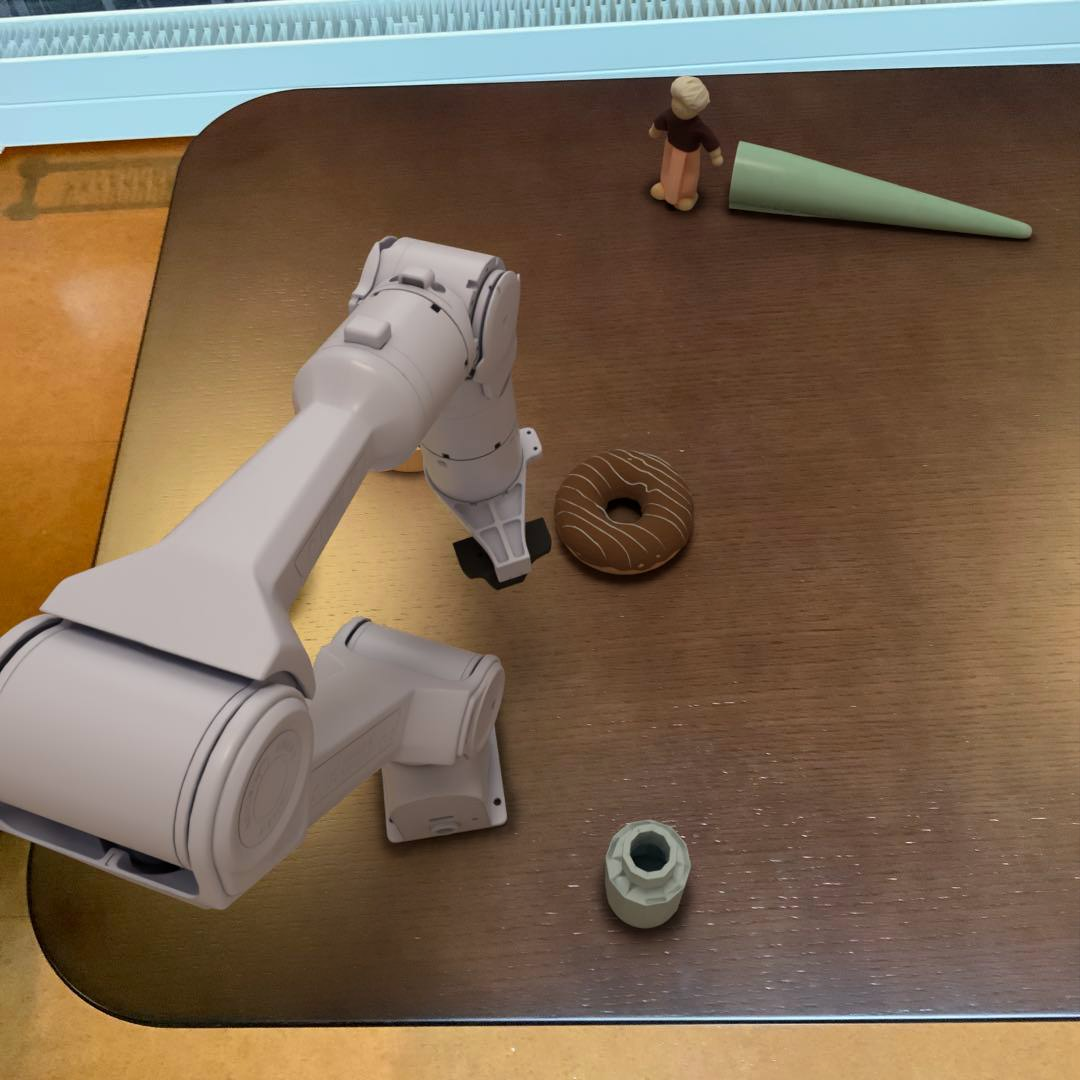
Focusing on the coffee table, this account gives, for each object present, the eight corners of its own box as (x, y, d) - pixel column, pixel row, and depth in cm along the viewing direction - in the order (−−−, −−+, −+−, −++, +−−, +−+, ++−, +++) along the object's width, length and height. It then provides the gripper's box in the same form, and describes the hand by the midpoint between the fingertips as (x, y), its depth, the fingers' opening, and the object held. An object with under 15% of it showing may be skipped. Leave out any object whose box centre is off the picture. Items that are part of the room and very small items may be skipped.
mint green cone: (1051, 212, 88) (732, 168, 92) (1028, 260, 92) (725, 216, 97) (1052, 168, 90) (742, 127, 95) (1029, 217, 95) (735, 176, 99)
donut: (583, 603, 78) (582, 578, 74) (535, 491, 83) (533, 463, 79) (715, 558, 79) (721, 531, 76) (660, 451, 84) (663, 421, 81)
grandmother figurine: (633, 199, 99) (638, 80, 88) (650, 173, 100) (657, 54, 89) (709, 224, 97) (723, 105, 86) (725, 197, 98) (742, 78, 87)
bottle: (688, 921, 66) (701, 887, 57) (613, 934, 66) (615, 902, 57) (672, 845, 69) (682, 802, 60) (599, 857, 68) (599, 816, 60)
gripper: (578, 500, 55) (584, 606, 67) (493, 300, 61) (513, 429, 73) (450, 543, 54) (479, 642, 66) (378, 336, 61) (417, 460, 73)
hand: (490, 532), depth 70 cm, fingers open, 7 cm apart
